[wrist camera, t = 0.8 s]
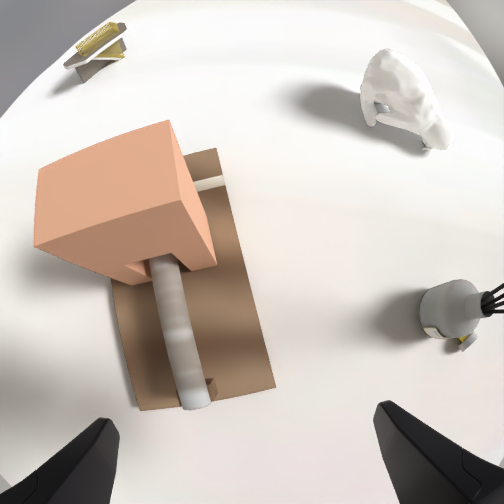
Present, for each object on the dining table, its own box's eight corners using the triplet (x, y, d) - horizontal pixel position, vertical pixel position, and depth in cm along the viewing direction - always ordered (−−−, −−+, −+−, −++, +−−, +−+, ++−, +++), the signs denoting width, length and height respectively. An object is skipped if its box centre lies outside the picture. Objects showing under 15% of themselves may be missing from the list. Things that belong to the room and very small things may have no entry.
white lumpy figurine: (386, 33, 20) (479, 104, 19) (358, 82, 28) (438, 140, 28) (371, 56, 18) (478, 139, 18) (340, 110, 27) (429, 175, 26)
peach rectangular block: (217, 265, 22) (180, 199, 10) (131, 285, 21) (33, 246, 10) (206, 216, 22) (169, 119, 11) (125, 238, 22) (38, 169, 11)
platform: (182, 42, 31) (175, 6, 25) (80, 126, 27) (55, 93, 21) (133, 29, 33) (124, 0, 26) (46, 100, 29) (26, 73, 23)
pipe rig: (275, 384, 21) (281, 399, 16) (144, 407, 20) (121, 424, 15) (217, 153, 26) (211, 122, 21) (108, 184, 25) (85, 160, 20)
